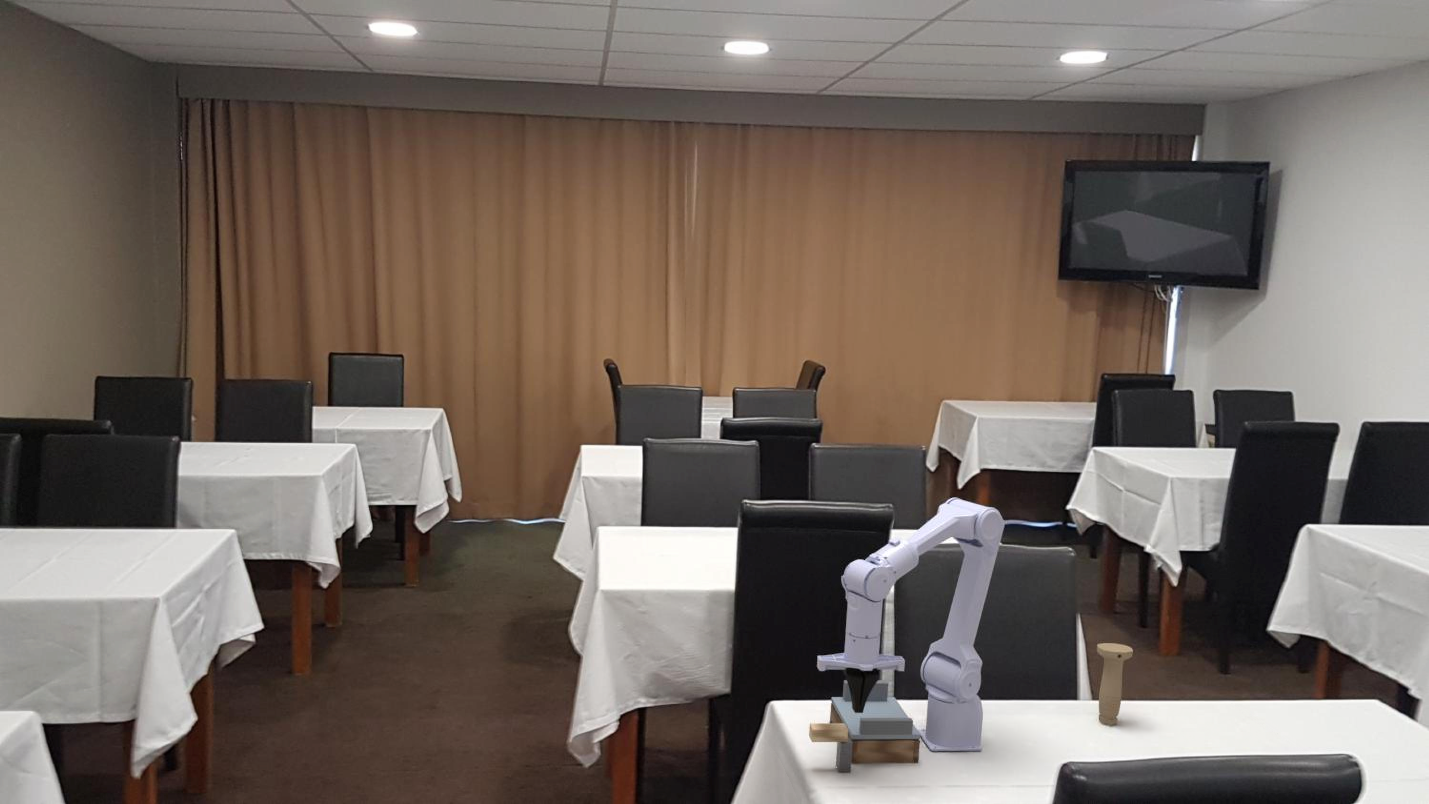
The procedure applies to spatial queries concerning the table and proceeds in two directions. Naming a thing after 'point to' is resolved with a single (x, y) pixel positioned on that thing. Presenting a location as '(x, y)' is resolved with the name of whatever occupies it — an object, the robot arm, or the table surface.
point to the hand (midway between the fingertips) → (857, 710)
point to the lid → (875, 715)
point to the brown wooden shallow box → (881, 748)
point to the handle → (1111, 680)
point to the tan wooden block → (828, 732)
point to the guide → (844, 756)
